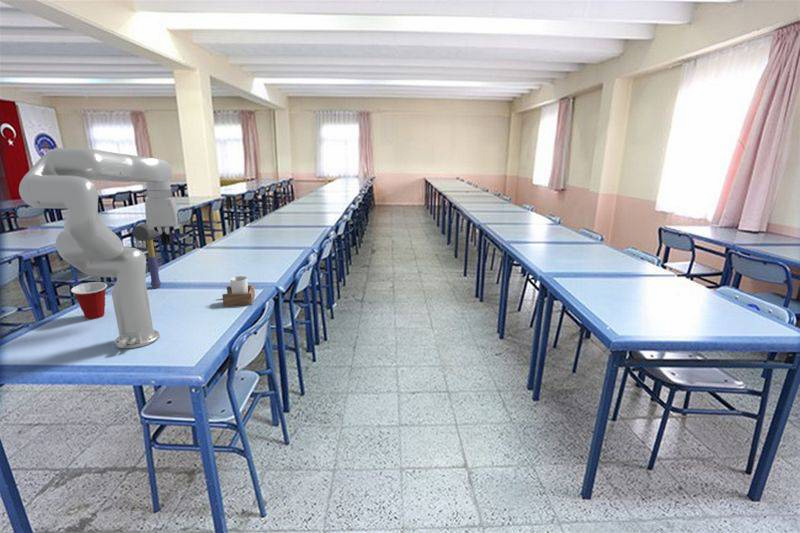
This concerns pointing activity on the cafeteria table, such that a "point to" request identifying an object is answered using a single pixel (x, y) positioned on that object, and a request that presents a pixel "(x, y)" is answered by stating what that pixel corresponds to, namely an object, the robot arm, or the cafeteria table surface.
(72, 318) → the cafeteria table surface
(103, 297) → the plastic cup
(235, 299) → the box
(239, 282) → the white paper cup
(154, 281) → the rubber mallet
